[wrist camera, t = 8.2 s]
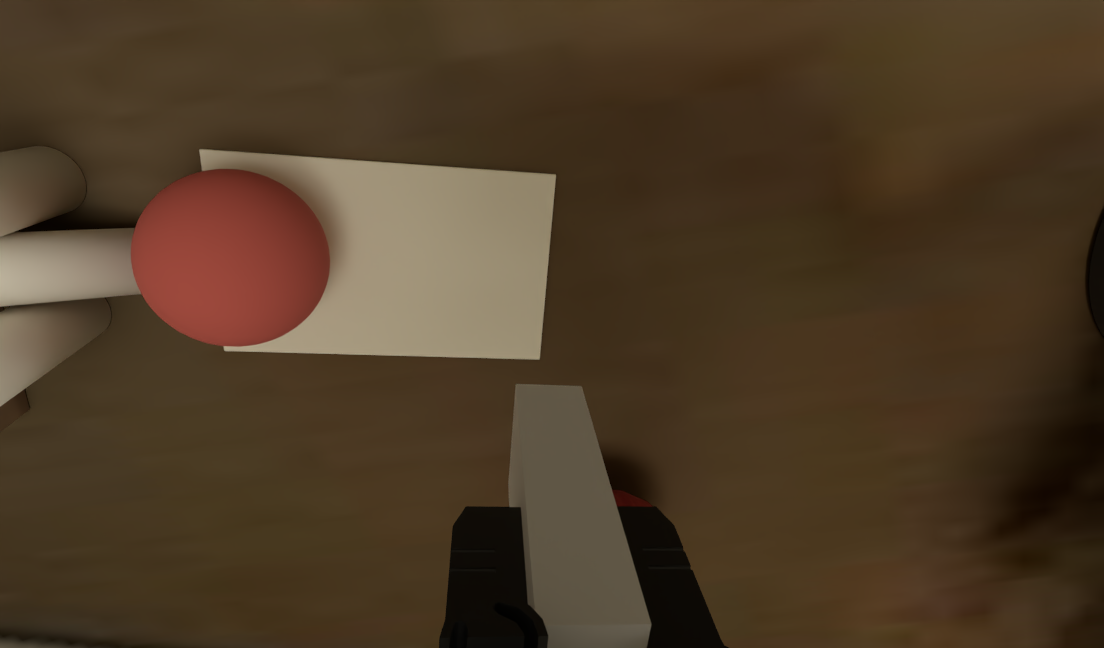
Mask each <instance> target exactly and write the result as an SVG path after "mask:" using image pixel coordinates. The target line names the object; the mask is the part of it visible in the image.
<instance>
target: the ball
mask: <svg viewBox="0 0 1104 648" xmlns="http://www.w3.org/2000/svg"><path fill="white" fill-rule="evenodd" d="M131 264H132V270H133V274H134V278H135V281H136V283H137V286H138V288H139V290H140V292H141V294H142V295H143V297H144V299H145V300H146V302H147V303H148V305H149V306H150V307H151V308H152V310H153V311H154V312H155V313H156V314H157V315H158V316H159V317H160V318H161V319H162V320H163V321H164V322H166V323H167V324H169V325H170V326H171V327H173V328H174V329H176V330H177V331H179V332H181V333H183V334H185V335H187V336H189V337H191V338H193V339H196V340H199V341H202V342H205V343H209V344H214V345H219V346H233V347H242V346H251V345H257V344H261V343H265V342H268V341H271V340H274V339H276V338H279V337H281V336H283V335H285V334H286V333H288V332H290V331H291V330H293V329H294V328H296V327H297V326H298V325H300V324H301V323H302V322H303V321H304V320H305V319H306V318H307V317H308V316H309V315H310V314H311V313H312V312H313V310H314V309H315V308H316V306H317V305H318V303H319V301H320V300H321V298H322V295H323V293H324V291H325V288H326V285H327V282H328V278H329V271H330V253H329V247H328V242H327V238H326V235H325V233H324V230H323V228H322V226H321V224H320V222H319V220H318V219H317V217H316V215H315V214H314V212H313V211H312V210H311V208H310V207H309V206H308V205H307V204H306V203H305V202H304V201H303V200H302V199H301V198H300V197H299V196H298V195H297V194H296V193H294V192H293V191H292V190H290V189H289V188H287V187H286V186H284V185H283V184H281V183H279V182H277V181H275V180H273V179H271V178H269V177H267V176H264V175H261V174H258V173H254V172H250V171H245V170H239V169H214V170H207V171H201V172H198V173H194V174H191V175H188V176H186V177H183V178H181V179H179V180H177V181H175V182H173V183H172V184H170V185H169V186H167V187H166V188H164V189H163V190H161V191H160V192H159V193H158V194H157V195H156V196H155V197H154V198H153V199H152V200H151V201H150V202H149V204H148V205H147V206H146V208H145V209H144V211H143V212H142V214H141V216H140V217H139V219H138V222H137V224H136V227H135V230H134V233H133V237H132V242H131Z"/></svg>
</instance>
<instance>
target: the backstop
mask: <svg viewBox="0 0 1104 648" xmlns="http://www.w3.org/2000/svg"><path fill="white" fill-rule="evenodd" d="M2 311H4V310H3V306H2V307H0V312H2ZM29 409H30V408H29V404H28V401H27V397H26V393H25V389H24V390H22V391H21V392H20V393H18V394H17V395H16V396H14V397H13V398H11V399H10V400H9V401H7V402H6V403H4V404H3V405H2V406H0V432H1V431H2V430H4V429H5V428H6V427H7V426H9V425H10V424H11V423H13V422H14V421H15V420H16V419H18V418H19V417H20V416H22V415H23V414H24V413H25V412H27V411H28V410H29Z"/></svg>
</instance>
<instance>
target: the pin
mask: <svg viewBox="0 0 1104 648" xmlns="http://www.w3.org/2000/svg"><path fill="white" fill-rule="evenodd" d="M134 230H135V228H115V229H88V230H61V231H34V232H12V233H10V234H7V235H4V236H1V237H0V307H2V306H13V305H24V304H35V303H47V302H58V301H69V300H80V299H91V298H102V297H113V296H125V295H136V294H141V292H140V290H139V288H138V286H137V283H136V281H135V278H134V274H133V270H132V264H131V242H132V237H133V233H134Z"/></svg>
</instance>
